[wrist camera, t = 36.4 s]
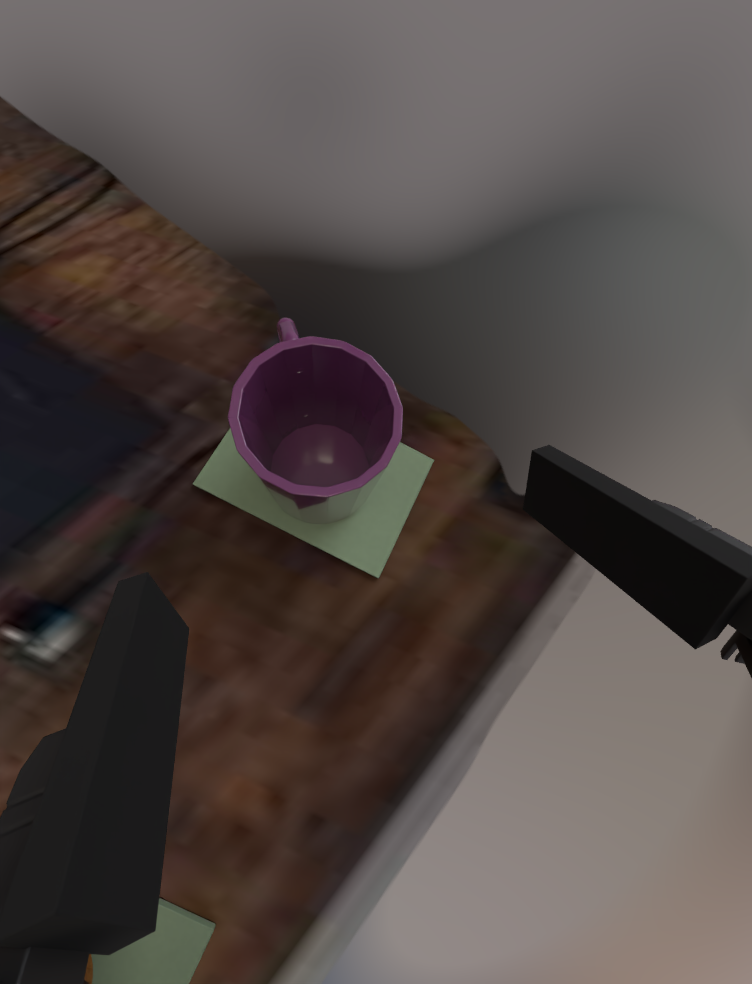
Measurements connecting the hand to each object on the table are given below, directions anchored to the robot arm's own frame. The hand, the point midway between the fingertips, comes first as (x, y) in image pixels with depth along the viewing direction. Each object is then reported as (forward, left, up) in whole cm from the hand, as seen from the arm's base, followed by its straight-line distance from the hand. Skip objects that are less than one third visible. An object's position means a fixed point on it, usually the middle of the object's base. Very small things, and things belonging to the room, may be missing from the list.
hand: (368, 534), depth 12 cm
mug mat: (-5, +5, -16) cm, 17 cm away
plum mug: (-6, +6, -16) cm, 18 cm away
